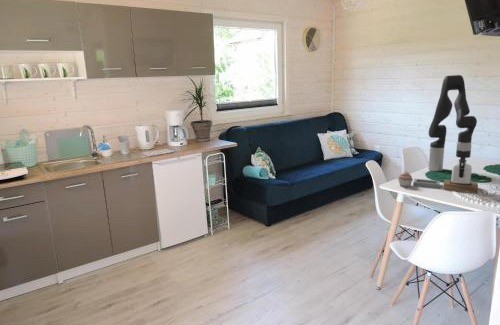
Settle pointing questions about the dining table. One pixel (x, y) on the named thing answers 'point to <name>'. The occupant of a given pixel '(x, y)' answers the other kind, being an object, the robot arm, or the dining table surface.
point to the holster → (426, 183)
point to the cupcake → (405, 179)
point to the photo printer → (466, 174)
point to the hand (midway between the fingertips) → (461, 176)
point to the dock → (460, 186)
